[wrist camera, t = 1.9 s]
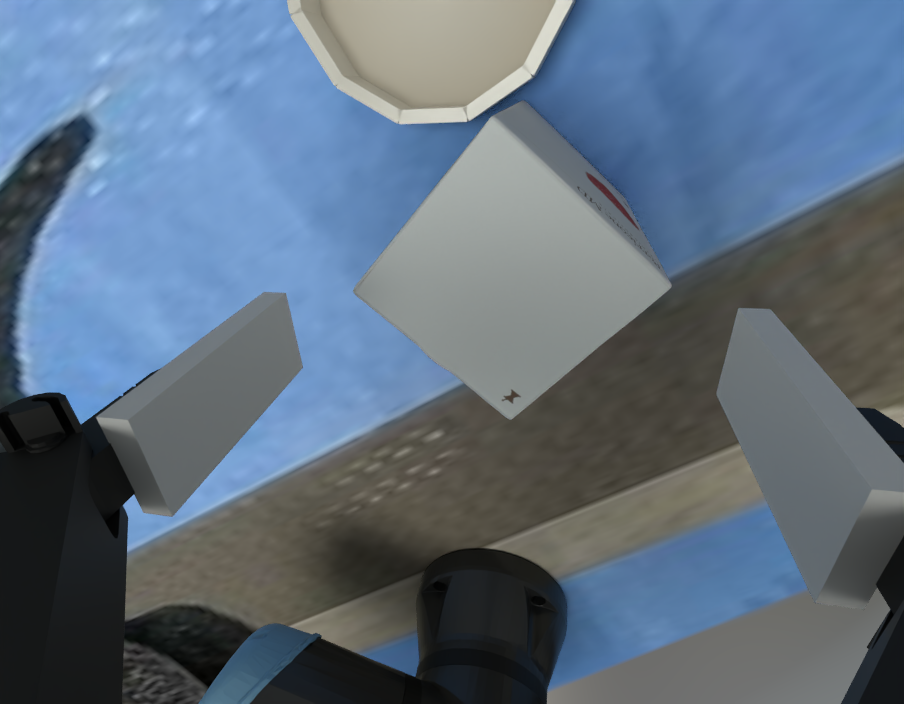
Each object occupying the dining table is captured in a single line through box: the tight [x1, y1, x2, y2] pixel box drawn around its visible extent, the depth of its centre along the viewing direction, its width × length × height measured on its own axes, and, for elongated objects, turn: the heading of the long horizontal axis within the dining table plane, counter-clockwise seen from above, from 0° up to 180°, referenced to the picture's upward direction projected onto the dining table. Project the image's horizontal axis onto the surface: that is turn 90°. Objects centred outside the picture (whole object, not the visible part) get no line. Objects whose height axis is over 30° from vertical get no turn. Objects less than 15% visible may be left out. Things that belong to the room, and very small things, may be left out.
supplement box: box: [353, 100, 672, 420], centre depth 25 cm, size 9×9×15 cm
